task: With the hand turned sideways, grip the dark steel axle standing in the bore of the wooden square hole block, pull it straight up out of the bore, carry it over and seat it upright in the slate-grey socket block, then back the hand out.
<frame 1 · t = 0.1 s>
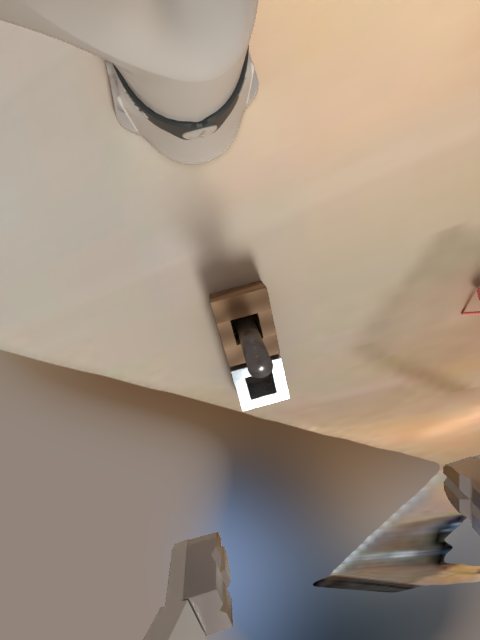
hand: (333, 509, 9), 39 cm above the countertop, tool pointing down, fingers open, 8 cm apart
wooden square hole block: (243, 319, 49), on the countertop
steel axle: (250, 338, 41), in the wooden square hole block
socket block: (256, 371, 53), on the countertop
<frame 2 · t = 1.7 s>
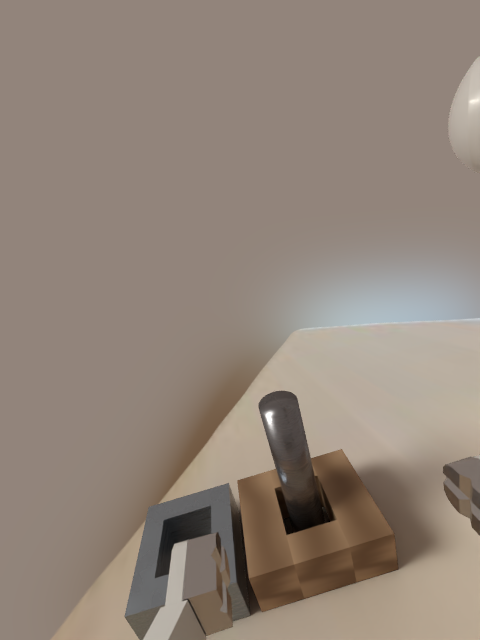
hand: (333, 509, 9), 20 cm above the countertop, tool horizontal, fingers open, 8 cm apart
wooden square hole block: (311, 534, 27), on the countertop
steel axle: (296, 475, 25), in the wooden square hole block
socket block: (199, 568, 27), on the countertop
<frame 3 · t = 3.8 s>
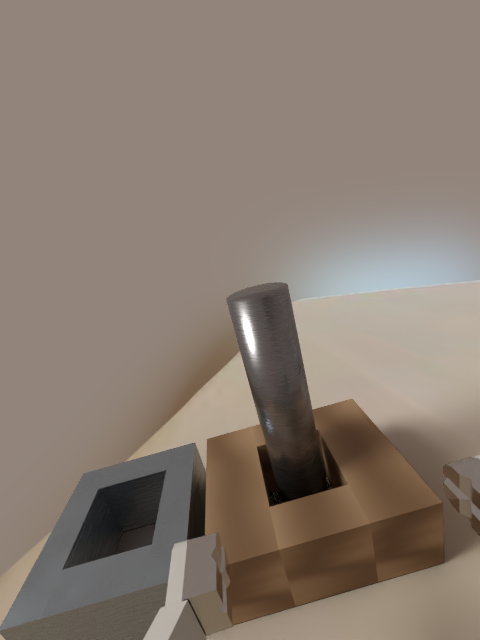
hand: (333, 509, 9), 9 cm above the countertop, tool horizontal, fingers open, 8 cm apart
wooden square hole block: (308, 513, 19), on the countertop
steel axle: (286, 418, 16), in the wooden square hole block
socket block: (146, 559, 19), on the countertop
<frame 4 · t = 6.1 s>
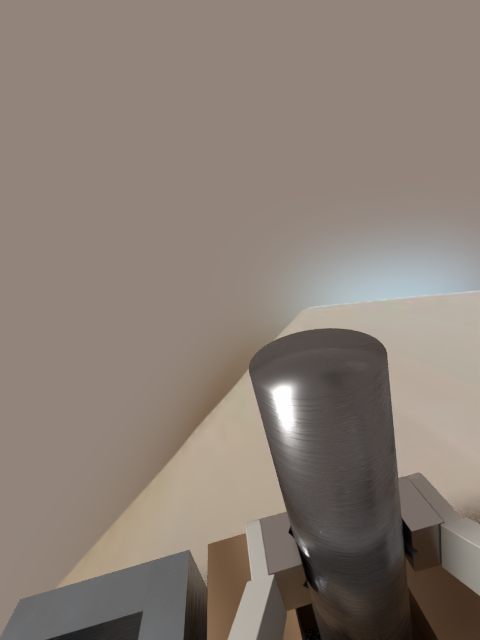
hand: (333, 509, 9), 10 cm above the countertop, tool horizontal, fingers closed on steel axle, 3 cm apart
steel axle: (351, 567, 9), in the wooden square hole block, touching gripper
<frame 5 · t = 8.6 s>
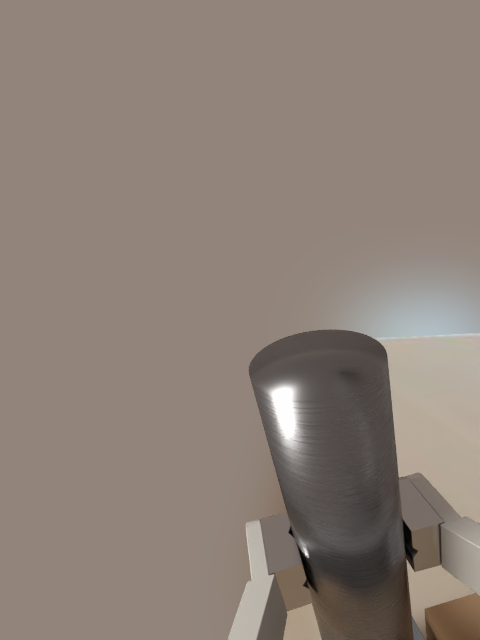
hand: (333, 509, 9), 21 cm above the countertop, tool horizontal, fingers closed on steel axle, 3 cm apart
steel axle: (352, 568, 9), point 20 cm above the countertop, touching gripper
when the fingers open (10 cm above the countertop, at t = 11.3 s): steel axle stays where it is, resting in socket block.
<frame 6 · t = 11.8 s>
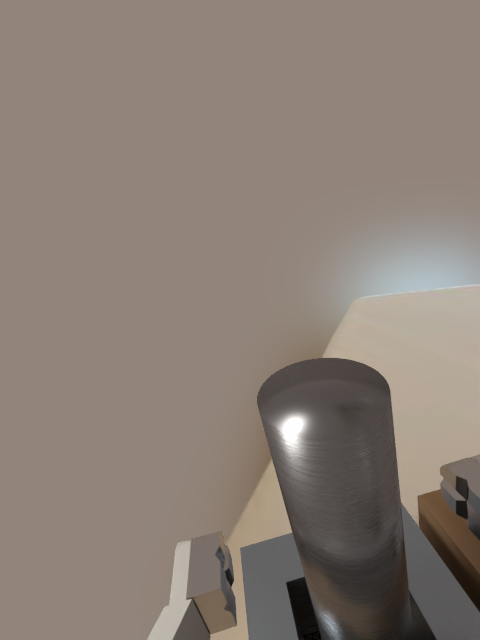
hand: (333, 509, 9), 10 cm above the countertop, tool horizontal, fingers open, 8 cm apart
steel axle: (355, 586, 9), in the socket block
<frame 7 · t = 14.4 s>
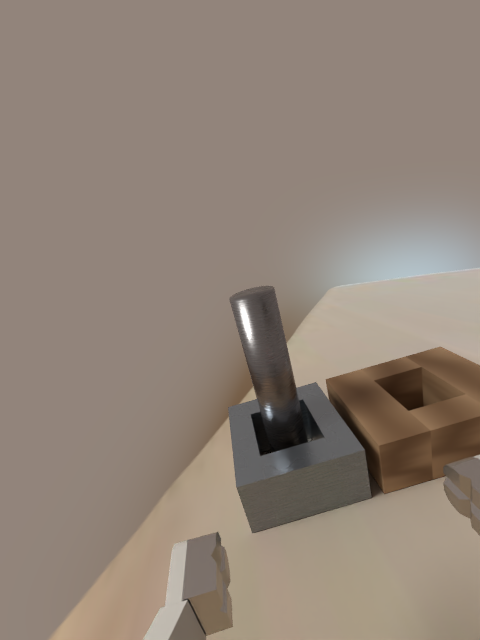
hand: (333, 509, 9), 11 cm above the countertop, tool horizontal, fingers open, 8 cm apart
wooden square hole block: (418, 429, 24), on the countertop
steel axle: (275, 389, 22), in the socket block
socket block: (294, 465, 24), on the countertop
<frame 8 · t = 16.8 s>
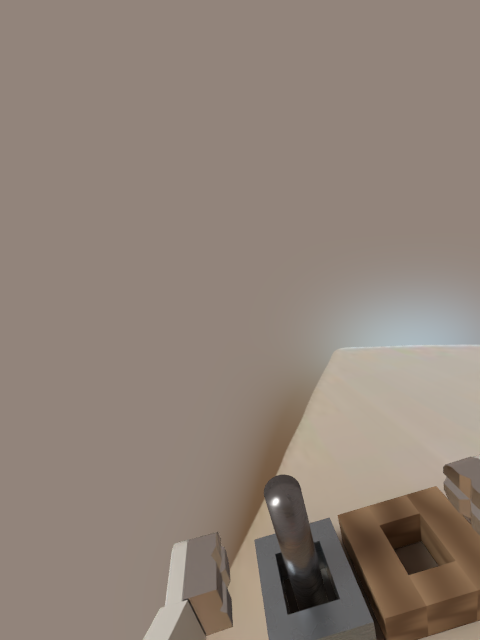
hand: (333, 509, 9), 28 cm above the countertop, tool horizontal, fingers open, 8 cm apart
wooden square hole block: (416, 570, 29), on the countertop
steel axle: (298, 551, 26), in the socket block
socket block: (312, 601, 29), on the countertop
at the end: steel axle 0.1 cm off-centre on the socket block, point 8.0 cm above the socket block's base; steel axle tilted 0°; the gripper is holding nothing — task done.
